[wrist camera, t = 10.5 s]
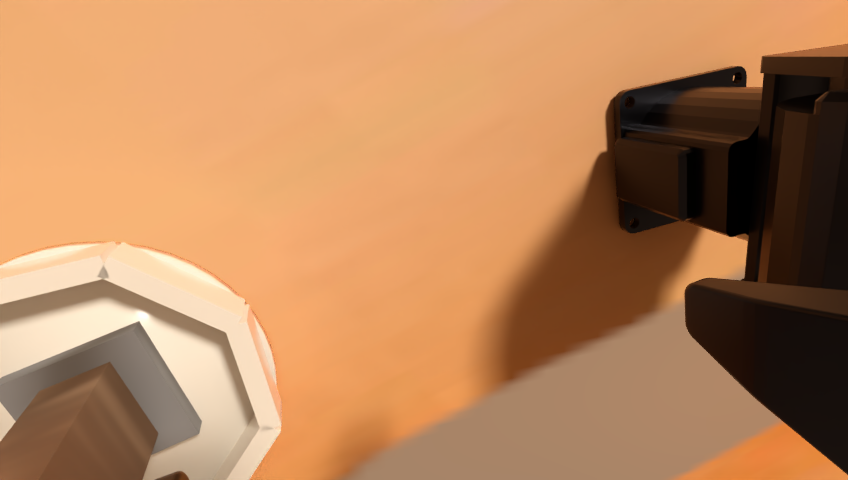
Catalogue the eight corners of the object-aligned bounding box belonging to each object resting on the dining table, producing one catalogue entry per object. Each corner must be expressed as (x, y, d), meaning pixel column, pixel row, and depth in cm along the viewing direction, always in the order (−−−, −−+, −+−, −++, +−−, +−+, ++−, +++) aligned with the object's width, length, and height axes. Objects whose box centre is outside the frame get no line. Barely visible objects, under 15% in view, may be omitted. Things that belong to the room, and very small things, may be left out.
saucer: (226, 206, 19) (219, 220, 17) (308, 461, 24) (311, 497, 21) (-157, 294, 17) (-216, 323, 15) (10, 561, 21) (-18, 612, 19)
